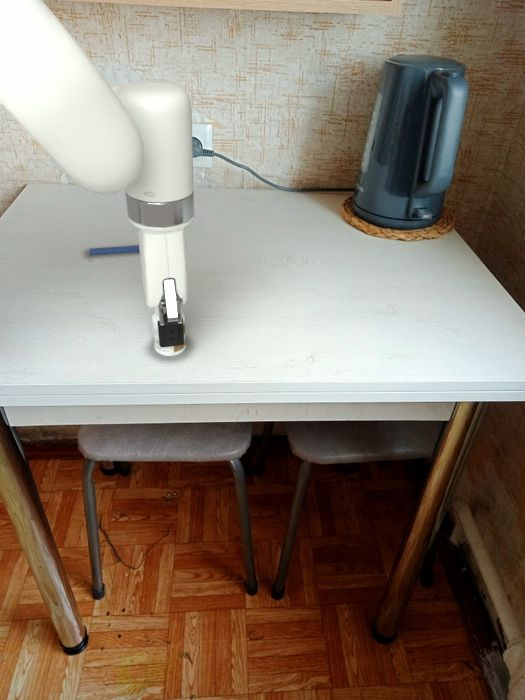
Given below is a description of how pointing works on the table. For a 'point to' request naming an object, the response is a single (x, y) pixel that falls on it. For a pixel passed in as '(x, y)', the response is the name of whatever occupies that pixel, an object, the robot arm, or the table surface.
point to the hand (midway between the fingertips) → (169, 331)
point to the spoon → (114, 250)
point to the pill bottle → (161, 350)
